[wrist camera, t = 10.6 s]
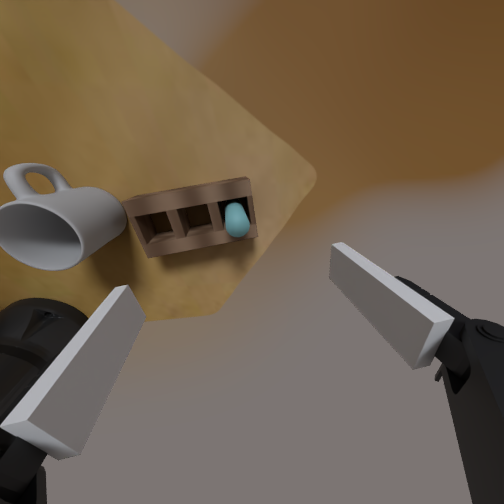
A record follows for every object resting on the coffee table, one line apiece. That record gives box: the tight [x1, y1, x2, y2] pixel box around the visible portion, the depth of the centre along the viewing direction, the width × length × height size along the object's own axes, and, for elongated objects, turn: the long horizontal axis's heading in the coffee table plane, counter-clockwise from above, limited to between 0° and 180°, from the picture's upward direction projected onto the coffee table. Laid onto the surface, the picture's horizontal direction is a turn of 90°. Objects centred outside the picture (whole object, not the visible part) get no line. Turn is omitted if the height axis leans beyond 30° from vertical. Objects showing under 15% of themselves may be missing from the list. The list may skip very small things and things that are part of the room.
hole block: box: [122, 177, 258, 258], centre depth 30 cm, size 18×9×5 cm, turn 99°
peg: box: [225, 198, 250, 237], centre depth 28 cm, size 3×3×11 cm
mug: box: [0, 163, 127, 271], centre depth 24 cm, size 12×8×11 cm
